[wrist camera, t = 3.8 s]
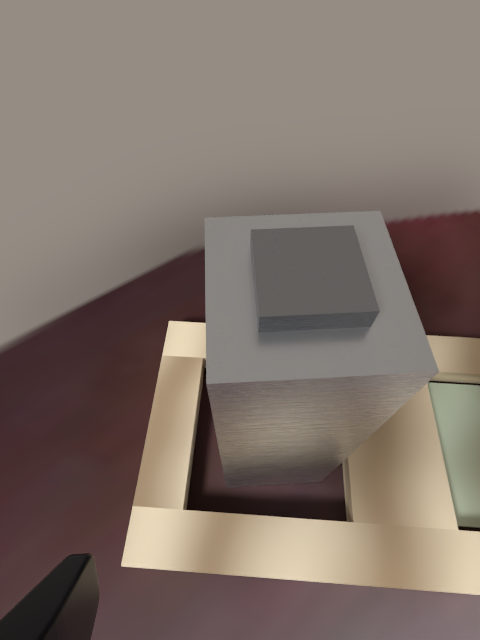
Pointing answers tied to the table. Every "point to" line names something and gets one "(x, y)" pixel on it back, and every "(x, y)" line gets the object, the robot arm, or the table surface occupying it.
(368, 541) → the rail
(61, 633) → the robot arm
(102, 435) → the table surface
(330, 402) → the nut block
